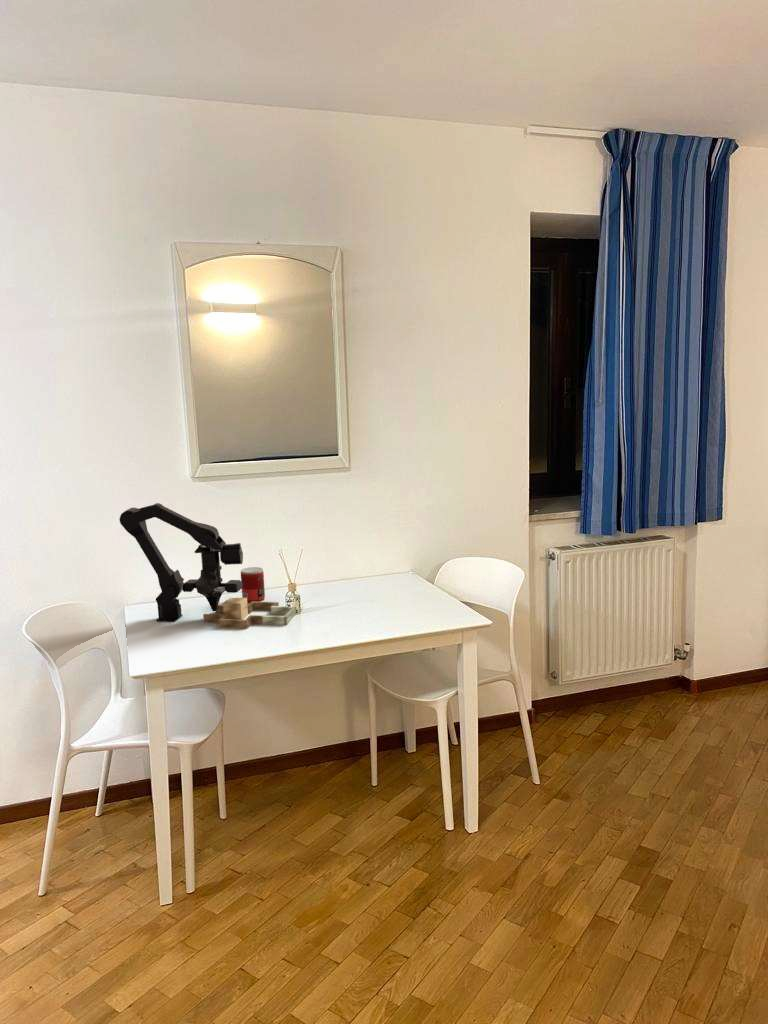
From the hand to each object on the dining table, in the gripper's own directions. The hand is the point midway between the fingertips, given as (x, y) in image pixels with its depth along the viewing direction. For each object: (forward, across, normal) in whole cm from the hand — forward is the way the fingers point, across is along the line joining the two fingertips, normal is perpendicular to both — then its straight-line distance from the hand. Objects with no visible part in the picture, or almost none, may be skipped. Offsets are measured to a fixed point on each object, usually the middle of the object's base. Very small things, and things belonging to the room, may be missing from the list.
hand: (214, 611), depth 251 cm
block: (+2, +7, 0) cm, 8 cm away
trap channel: (+2, +12, 0) cm, 13 cm away
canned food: (+2, +6, +20) cm, 21 cm away
